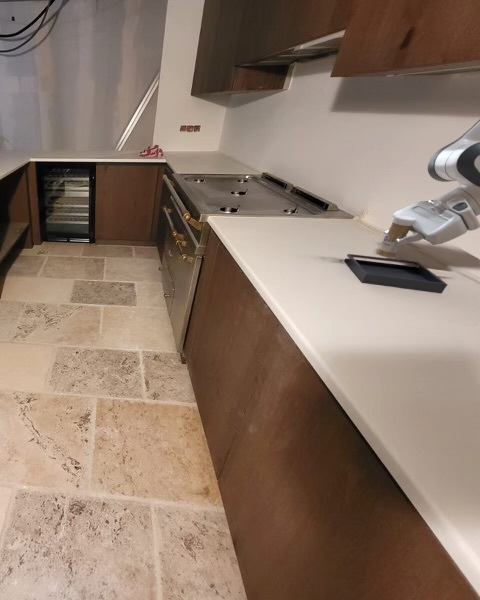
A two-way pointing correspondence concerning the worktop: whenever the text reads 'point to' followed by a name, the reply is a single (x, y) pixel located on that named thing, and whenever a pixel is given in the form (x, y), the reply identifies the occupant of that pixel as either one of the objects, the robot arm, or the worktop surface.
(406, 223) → the sprinkles bottle
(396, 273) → the tray
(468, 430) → the worktop surface
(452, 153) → the robot arm
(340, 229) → the worktop surface
